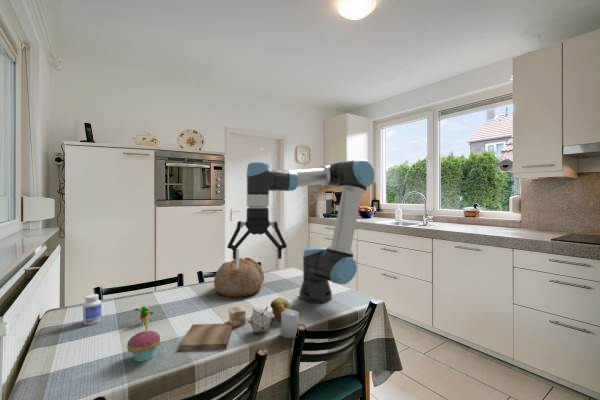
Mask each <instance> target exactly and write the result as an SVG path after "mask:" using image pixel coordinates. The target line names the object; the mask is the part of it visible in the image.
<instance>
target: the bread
mask: <svg viewBox="0 0 600 400" xmlns="http://www.w3.org/2000/svg"><path fill="white" fill-rule="evenodd" d="M264 280H265V274H264V271H263V268H262V266H261V265H260V264H259V263H258V262H257V261H255V260H254V259H253V258H250V257H245V258H241V257H239V269H238V270H236V259H232V260H231V261H226V262H223V263H222V264H221V266H220V267H219V268H217V270H216V272H215V276H214V280H213V286H214V289H215V290H216V292H217V293H219V294H220V295H222V296H225V297H228V298H229V297H230V298H233V297H234V298H241V297H247V296H250V295H253V294H255V293H257V292H258V291H260V289H261V287H262V285H263V284H264Z"/></svg>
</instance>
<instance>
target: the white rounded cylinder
mask: <svg viewBox="0 0 600 400" xmlns="http://www.w3.org/2000/svg"><path fill="white" fill-rule="evenodd" d="M299 316H300V315H299V311H297V310H294V309H290V310H286V311H283V312H282V313H281V320H280V335H281V336H282V337H283V338H287V339H293V338H297V336H296V333H297V327H298V326H299V323H300V322H299V321H300V318H299Z"/></svg>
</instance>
